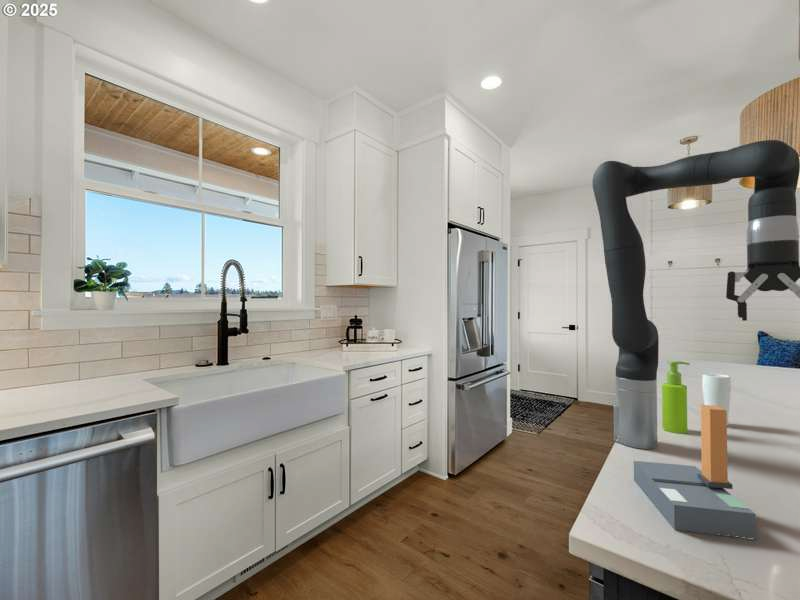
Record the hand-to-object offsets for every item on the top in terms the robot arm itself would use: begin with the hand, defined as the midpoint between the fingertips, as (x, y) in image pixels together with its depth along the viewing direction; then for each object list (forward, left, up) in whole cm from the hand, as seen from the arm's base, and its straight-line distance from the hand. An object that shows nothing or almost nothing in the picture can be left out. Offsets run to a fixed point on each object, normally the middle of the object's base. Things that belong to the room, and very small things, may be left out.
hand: (773, 321), depth 77 cm
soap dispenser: (-20, +28, -33) cm, 48 cm away
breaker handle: (-8, -20, -29) cm, 36 cm away
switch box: (-12, -22, -33) cm, 42 cm away
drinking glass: (-12, +43, -33) cm, 56 cm away
